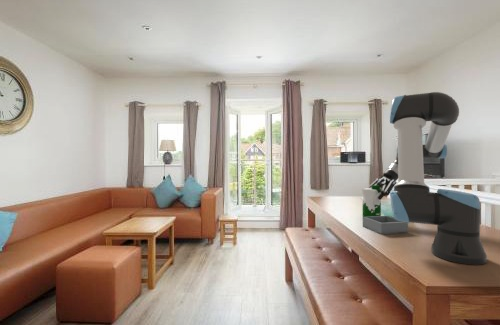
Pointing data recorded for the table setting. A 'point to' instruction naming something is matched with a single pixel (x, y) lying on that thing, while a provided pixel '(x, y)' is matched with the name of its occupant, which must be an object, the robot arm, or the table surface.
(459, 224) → the robot arm
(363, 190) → the soya milk
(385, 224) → the tray
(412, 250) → the table surface
